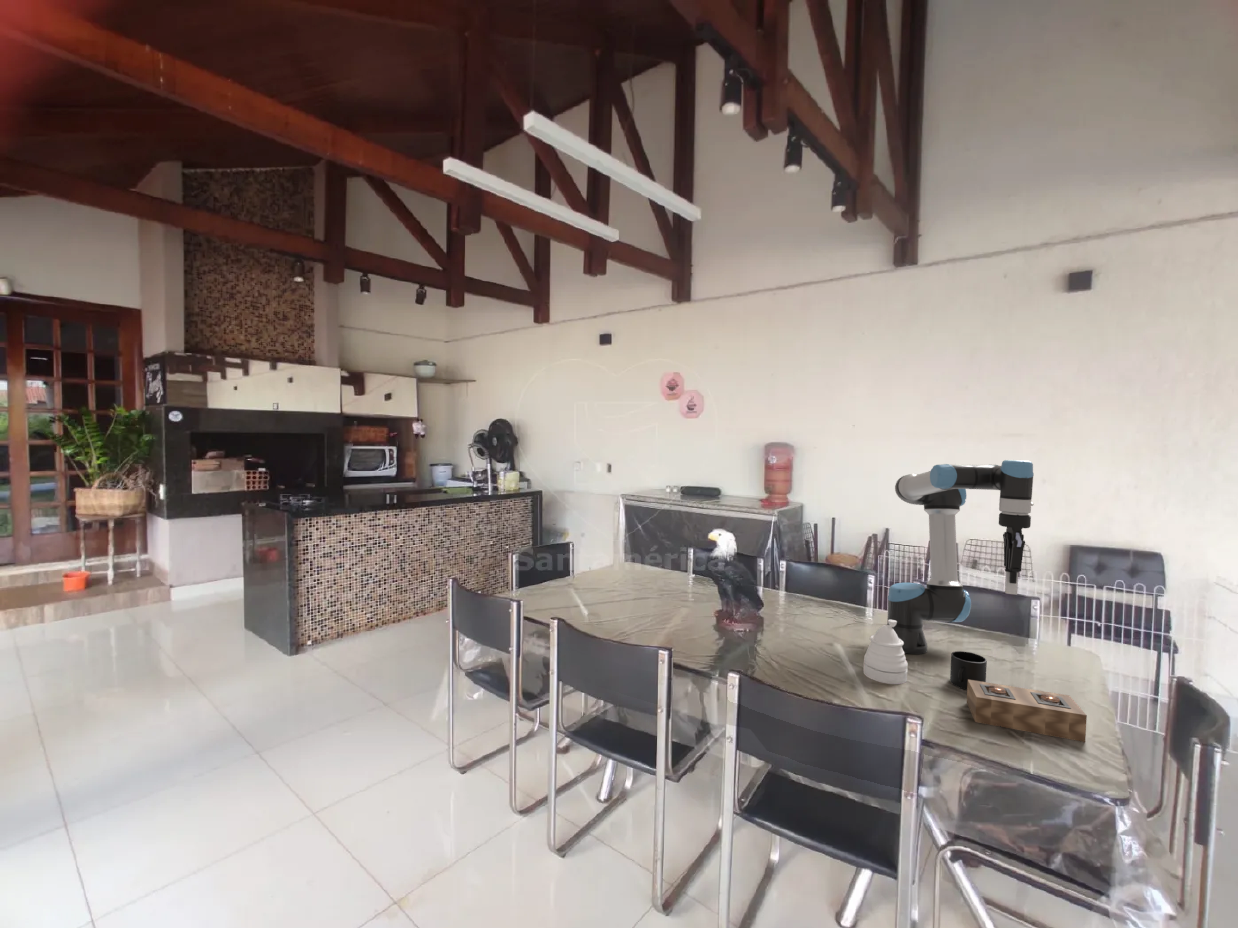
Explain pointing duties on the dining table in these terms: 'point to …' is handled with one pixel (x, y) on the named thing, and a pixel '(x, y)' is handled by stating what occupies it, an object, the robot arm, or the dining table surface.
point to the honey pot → (886, 656)
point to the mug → (967, 668)
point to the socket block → (1026, 711)
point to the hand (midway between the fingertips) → (1010, 593)
